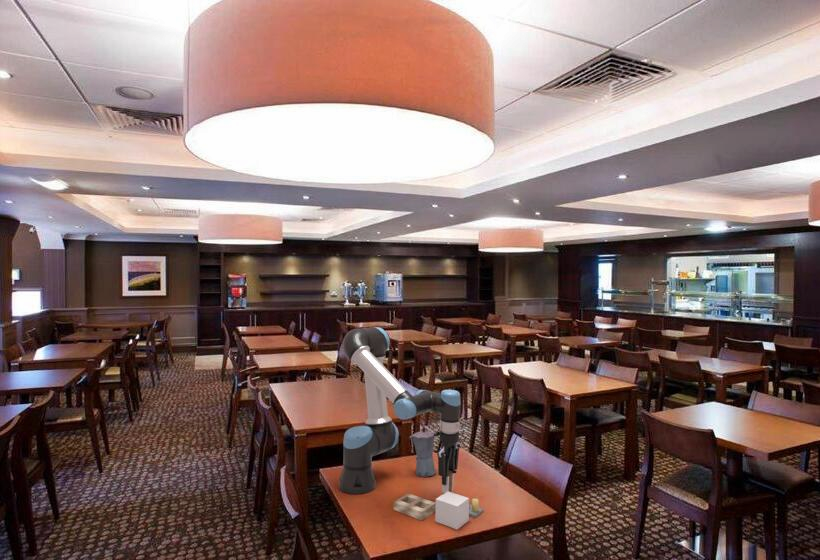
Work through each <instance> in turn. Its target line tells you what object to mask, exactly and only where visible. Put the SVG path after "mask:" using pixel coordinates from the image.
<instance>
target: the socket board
mask: <svg viewBox="0 0 820 560" xmlns="http://www.w3.org/2000/svg"><path fill="white" fill-rule="evenodd" d="M393 511H396V512H399V513H402V514H404V515H406V516H409V517H411V518H414V519H416V520H420V521H424V520H426V519H427V518H428V517H431V516H432V515H433V514H434V513H436V501H435V502H434V501H431V500H429V499H427V498H423V497H419V496H417V495H415V494H411V493H409V492H408V493H406V494H405V495H403V496H401V497H399V498H398V499H395V501H393Z"/></svg>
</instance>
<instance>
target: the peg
mask: <svg viewBox="0 0 820 560" xmlns="http://www.w3.org/2000/svg"><path fill="white" fill-rule="evenodd" d="M448 476H449V492H452V471H451V470H448ZM452 493H453V492H452ZM443 494H444V492H442V495H443Z"/></svg>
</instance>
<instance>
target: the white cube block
mask: <svg viewBox="0 0 820 560" xmlns="http://www.w3.org/2000/svg"><path fill="white" fill-rule="evenodd" d="M435 503H436V512H435V521H434V522H436V523H438V524H441V525H445V526H447V527H449V528H452V529H454V530H459V529H460V528H461V527H462V526H464V525H465V524H466V523H467V522H469V521H470V519H469V518H470V516H469V504H470V497H467V496H464V495H461V494H457V493H455V492H449V491H447V492H446V493H444V494H443V493H442V494H441V495H439V496H438V497H437V498H435Z"/></svg>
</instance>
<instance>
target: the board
mask: <svg viewBox="0 0 820 560" xmlns="http://www.w3.org/2000/svg"><path fill="white" fill-rule="evenodd" d="M479 501H480V500H479V498H475V497H474V498H471V504H470V503H469V517H471V518H474V519H476V518H478V516H480V515H481V514H482V513H484V508H481V507H479V506H480V505H479V504H480V502H479Z"/></svg>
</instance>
